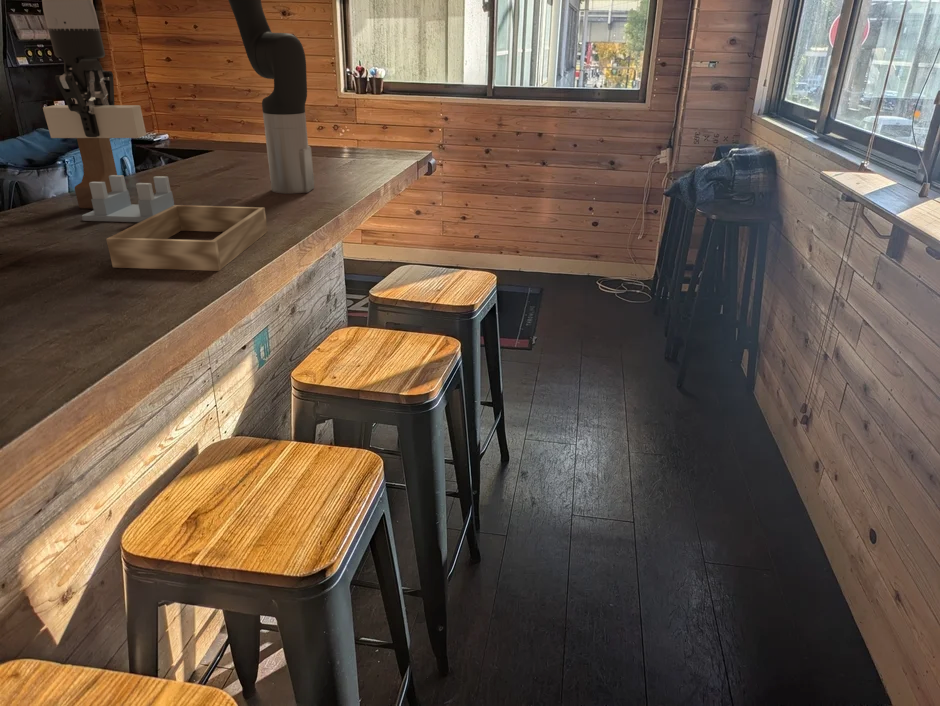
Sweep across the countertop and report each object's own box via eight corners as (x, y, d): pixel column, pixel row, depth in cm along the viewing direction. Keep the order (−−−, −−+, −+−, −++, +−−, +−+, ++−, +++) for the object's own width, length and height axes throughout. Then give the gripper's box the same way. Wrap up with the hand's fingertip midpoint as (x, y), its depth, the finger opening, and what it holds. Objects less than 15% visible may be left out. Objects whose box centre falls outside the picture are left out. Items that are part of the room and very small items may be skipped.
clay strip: (146, 134, 117) (140, 105, 114) (138, 137, 114) (131, 107, 111) (61, 134, 116) (53, 105, 114) (51, 138, 113) (42, 107, 111)
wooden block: (99, 209, 133) (78, 116, 125) (78, 208, 133) (55, 115, 125) (123, 199, 141) (104, 111, 133) (103, 199, 141) (83, 111, 133)
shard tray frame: (267, 231, 119) (264, 207, 117) (219, 270, 99) (214, 242, 97) (179, 229, 120) (174, 205, 118) (112, 267, 100) (106, 238, 98)
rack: (187, 210, 133) (181, 175, 130) (164, 222, 124) (157, 185, 121) (111, 208, 133) (103, 173, 130) (82, 220, 124) (73, 183, 121)
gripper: (70, 26, 101) (98, 141, 108) (118, 26, 113) (140, 129, 121) (23, 26, 101) (54, 141, 109) (75, 26, 114) (100, 129, 121)
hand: (99, 134), depth 115 cm, fingers closed on clay strip, 3 cm apart
